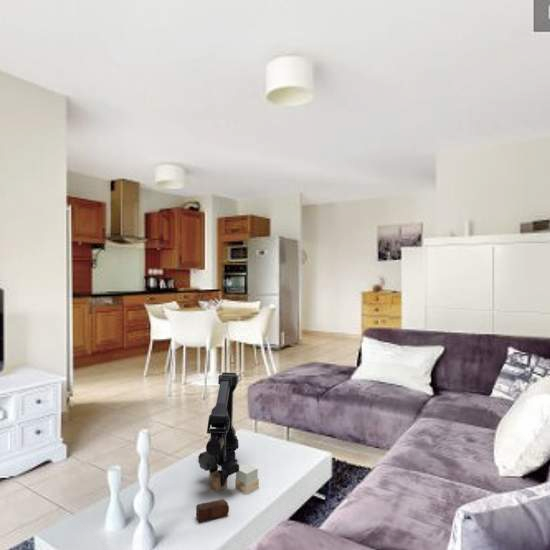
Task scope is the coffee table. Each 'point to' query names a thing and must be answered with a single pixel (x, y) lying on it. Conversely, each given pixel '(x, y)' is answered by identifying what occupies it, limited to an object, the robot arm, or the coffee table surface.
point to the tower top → (247, 473)
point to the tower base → (247, 486)
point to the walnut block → (216, 481)
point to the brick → (211, 510)
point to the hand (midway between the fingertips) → (218, 483)
